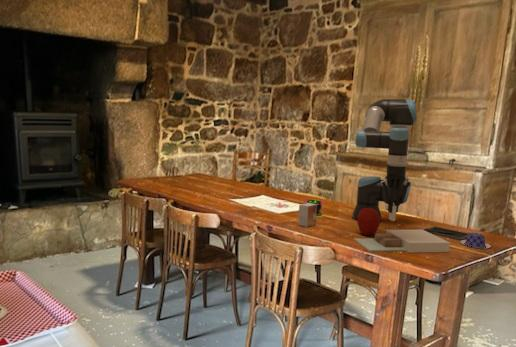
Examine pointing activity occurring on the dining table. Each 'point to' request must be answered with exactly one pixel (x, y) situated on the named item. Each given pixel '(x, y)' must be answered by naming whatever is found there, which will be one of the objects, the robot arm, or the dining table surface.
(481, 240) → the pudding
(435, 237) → the cream flat block
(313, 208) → the small box
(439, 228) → the picture frame
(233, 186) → the dining table surface
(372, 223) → the dark red rounded piece
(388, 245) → the walnut block
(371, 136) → the robot arm
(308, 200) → the toy cauldron
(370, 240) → the mat
